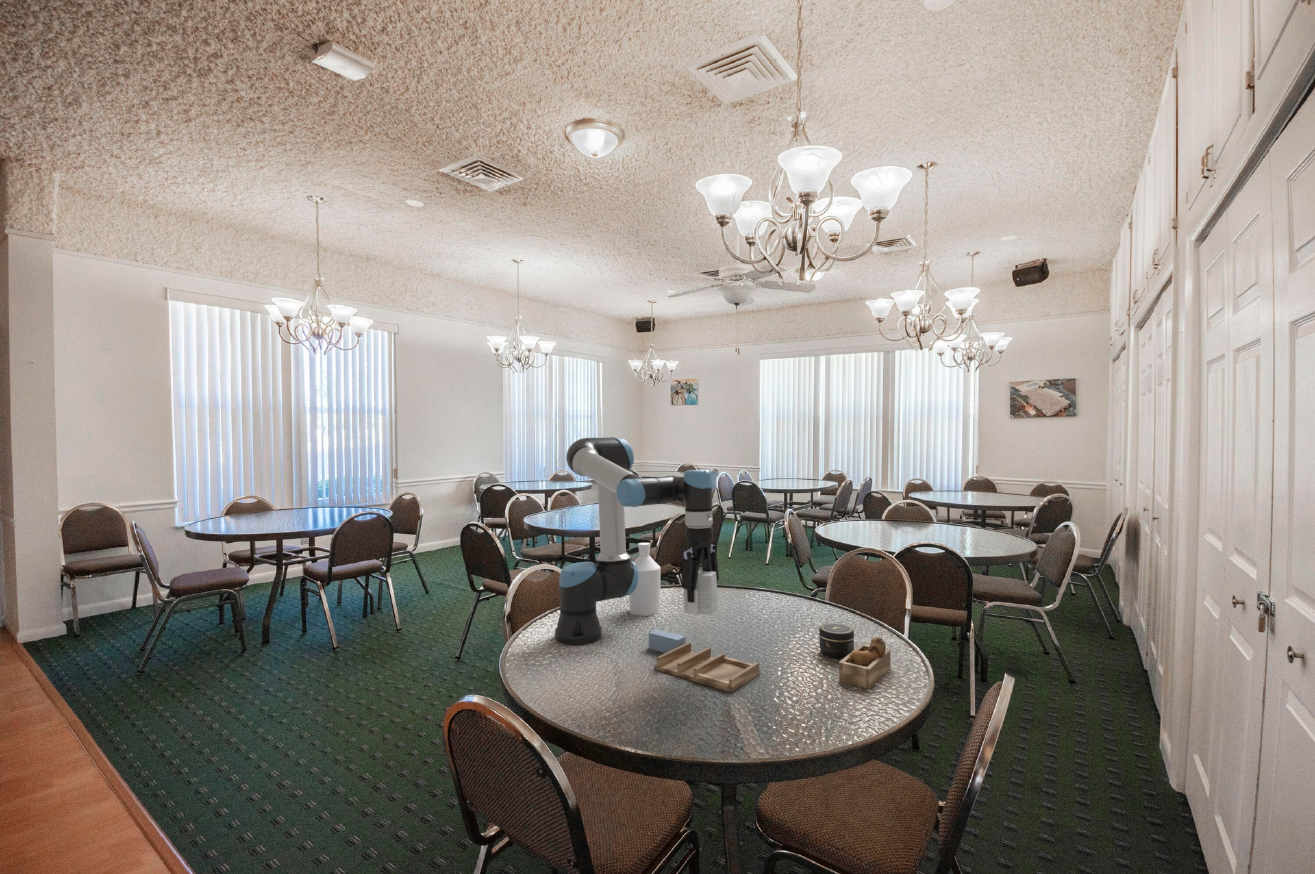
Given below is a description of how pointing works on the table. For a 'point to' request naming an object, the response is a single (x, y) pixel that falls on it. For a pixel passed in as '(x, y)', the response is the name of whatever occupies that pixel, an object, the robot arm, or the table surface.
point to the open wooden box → (864, 669)
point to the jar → (836, 640)
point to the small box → (705, 593)
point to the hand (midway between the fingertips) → (701, 610)
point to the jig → (707, 668)
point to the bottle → (646, 584)
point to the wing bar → (665, 640)
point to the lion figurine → (868, 653)
